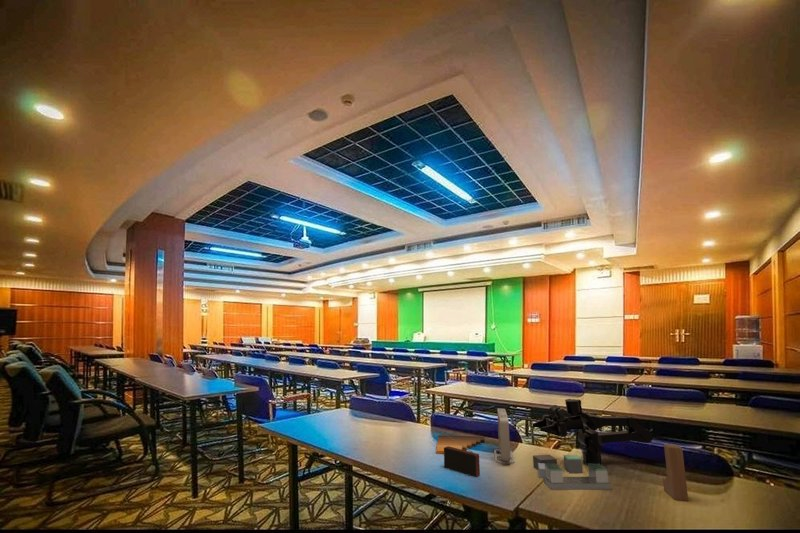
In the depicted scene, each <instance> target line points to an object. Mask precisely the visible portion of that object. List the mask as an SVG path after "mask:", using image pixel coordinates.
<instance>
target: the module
mask: <svg viewBox="0 0 800 533" xmlns="http://www.w3.org/2000/svg"><path fill="white" fill-rule="evenodd" d="M563 468H564V469H565V470H566V471H565V470H564V471H565V472H566V473H568V472H569V473H568V474H583V473H584V469H583V458H581V457H580V456H579V455H578V454H563Z"/></svg>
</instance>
